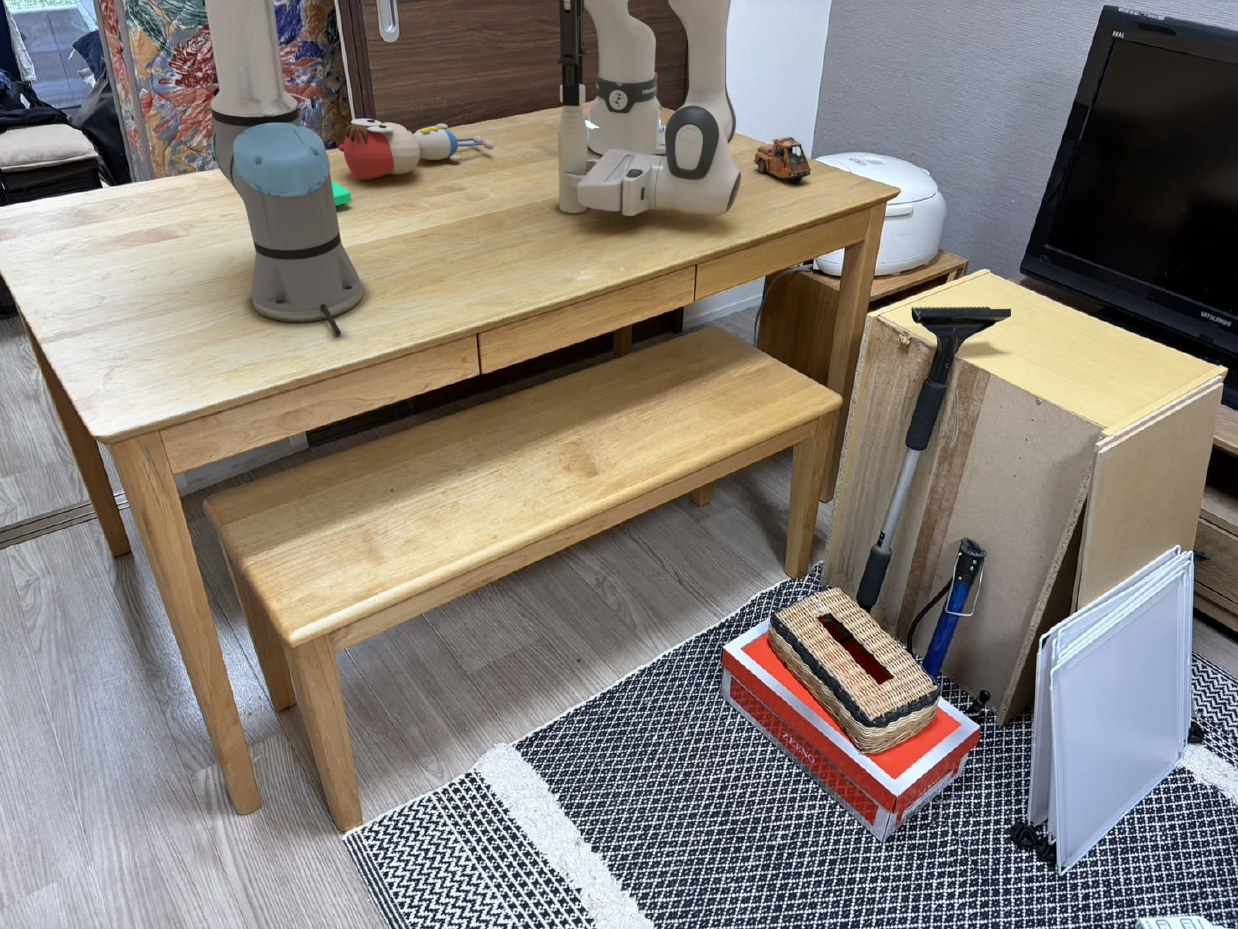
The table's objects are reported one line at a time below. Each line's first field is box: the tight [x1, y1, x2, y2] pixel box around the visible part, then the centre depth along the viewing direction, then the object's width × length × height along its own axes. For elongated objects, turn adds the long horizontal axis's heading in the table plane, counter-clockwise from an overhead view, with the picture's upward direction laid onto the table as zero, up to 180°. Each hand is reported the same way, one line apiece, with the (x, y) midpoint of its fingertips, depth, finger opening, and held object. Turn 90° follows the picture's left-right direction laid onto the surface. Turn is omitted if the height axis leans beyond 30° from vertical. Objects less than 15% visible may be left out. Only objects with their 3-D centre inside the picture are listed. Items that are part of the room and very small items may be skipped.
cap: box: [559, 83, 586, 104], centre depth 153 cm, size 4×4×2 cm
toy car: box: [753, 136, 812, 184], centre depth 179 cm, size 6×12×7 cm, turn 39°
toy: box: [338, 118, 494, 181], centre depth 178 cm, size 18×10×30 cm
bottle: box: [557, 103, 588, 214], centre depth 159 cm, size 5×5×20 cm
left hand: (572, 100), depth 154 cm, fingers closed on cap, 4 cm apart
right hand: (568, 171), depth 162 cm, fingers closed on bottle, 5 cm apart
